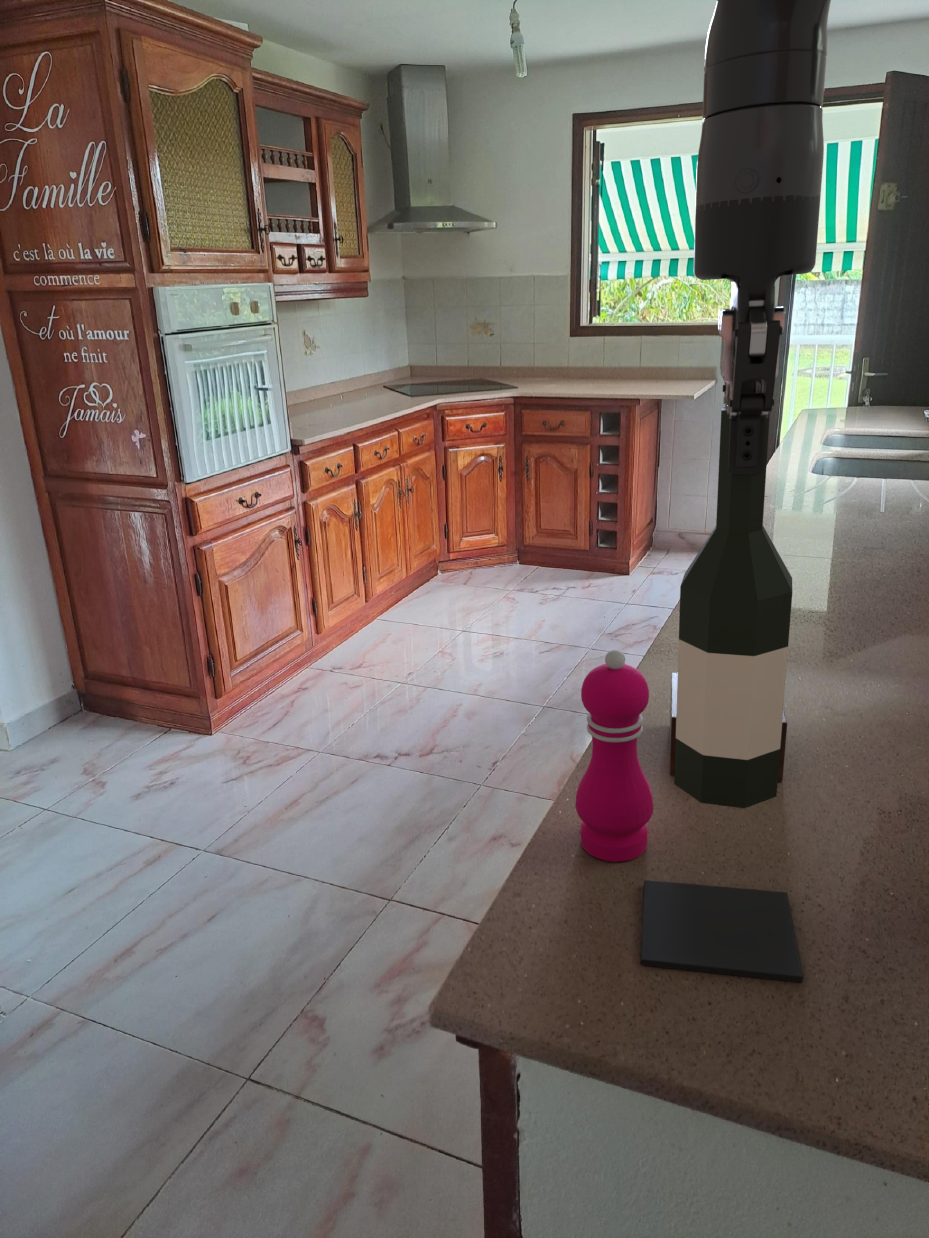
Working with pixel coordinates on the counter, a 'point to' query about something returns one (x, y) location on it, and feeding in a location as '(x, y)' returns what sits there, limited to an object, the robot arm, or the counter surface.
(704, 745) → the wine bottle
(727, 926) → the rubber mat
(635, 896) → the counter surface
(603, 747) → the pepper mill
